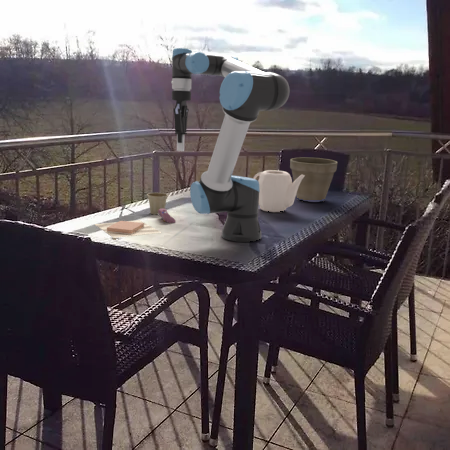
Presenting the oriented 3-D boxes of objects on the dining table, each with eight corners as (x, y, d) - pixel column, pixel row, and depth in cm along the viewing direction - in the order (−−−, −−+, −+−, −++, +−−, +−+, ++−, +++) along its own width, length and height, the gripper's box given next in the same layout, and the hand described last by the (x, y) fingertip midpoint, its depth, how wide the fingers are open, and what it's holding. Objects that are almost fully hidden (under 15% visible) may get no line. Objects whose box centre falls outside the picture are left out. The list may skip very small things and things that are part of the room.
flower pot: (164, 216, 224) (164, 197, 221) (143, 214, 225) (143, 195, 223) (170, 212, 233) (170, 193, 230) (151, 210, 234) (151, 192, 232)
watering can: (296, 217, 232) (299, 176, 228) (243, 209, 244) (245, 170, 240) (307, 211, 246) (310, 172, 241) (256, 204, 258) (258, 167, 253)
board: (161, 234, 194) (161, 232, 194) (113, 240, 184) (113, 237, 184) (139, 221, 212) (139, 220, 212) (94, 226, 202) (94, 224, 202)
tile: (143, 223, 201) (131, 230, 189) (143, 226, 201) (131, 234, 190) (120, 220, 203) (106, 227, 192) (120, 224, 203) (106, 231, 192)
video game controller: (161, 223, 218) (154, 209, 216) (170, 218, 219) (163, 204, 217) (167, 228, 210) (160, 214, 207) (177, 223, 211) (169, 208, 208)
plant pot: (323, 207, 259) (327, 164, 254) (279, 200, 271) (282, 159, 266) (340, 200, 280) (344, 160, 274) (298, 194, 292) (301, 156, 287)
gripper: (177, 90, 206) (176, 149, 211) (167, 89, 193) (166, 151, 199) (195, 91, 204) (193, 150, 210) (186, 90, 192) (184, 152, 197)
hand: (180, 150), depth 204 cm, fingers closed
